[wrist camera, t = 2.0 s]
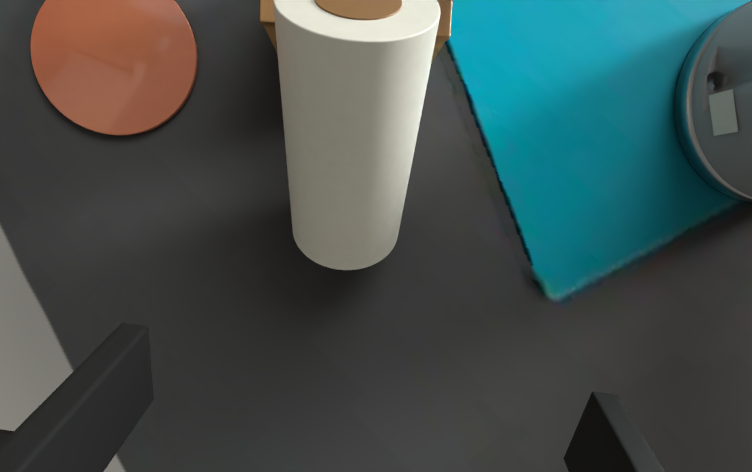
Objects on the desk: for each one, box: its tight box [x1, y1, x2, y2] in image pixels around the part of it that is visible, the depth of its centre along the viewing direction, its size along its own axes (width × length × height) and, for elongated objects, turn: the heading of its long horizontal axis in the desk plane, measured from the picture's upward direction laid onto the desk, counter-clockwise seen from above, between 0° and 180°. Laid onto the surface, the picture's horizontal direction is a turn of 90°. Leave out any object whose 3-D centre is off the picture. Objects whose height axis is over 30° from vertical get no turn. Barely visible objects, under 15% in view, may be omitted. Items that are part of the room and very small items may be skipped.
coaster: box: [31, 0, 198, 136], centre depth 31 cm, size 11×11×1 cm
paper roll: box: [273, 0, 441, 270], centre depth 25 cm, size 16×7×16 cm, turn 177°
